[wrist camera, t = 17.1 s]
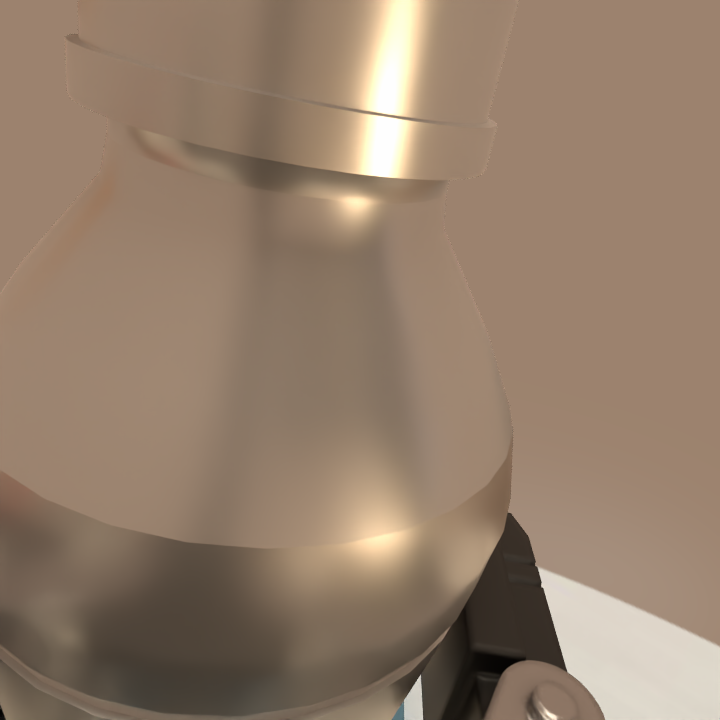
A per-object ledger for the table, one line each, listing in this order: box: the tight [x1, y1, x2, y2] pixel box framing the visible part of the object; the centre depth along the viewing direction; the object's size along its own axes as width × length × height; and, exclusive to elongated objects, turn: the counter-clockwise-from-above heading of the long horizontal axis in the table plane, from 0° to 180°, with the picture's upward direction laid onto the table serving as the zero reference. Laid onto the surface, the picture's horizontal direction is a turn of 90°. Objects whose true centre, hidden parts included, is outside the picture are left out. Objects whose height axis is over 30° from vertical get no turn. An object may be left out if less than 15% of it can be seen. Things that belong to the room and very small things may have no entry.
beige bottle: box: [0, 0, 519, 720], centre depth 10 cm, size 6×7×20 cm
